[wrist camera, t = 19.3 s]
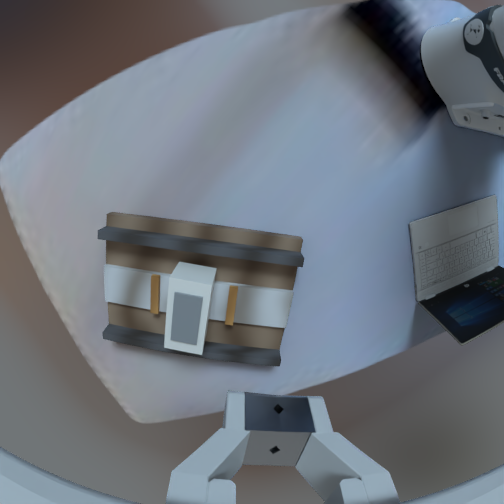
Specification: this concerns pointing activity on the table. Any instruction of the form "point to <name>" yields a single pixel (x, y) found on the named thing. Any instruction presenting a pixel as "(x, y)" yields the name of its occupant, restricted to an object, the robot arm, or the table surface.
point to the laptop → (460, 268)
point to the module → (188, 307)
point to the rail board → (224, 292)
